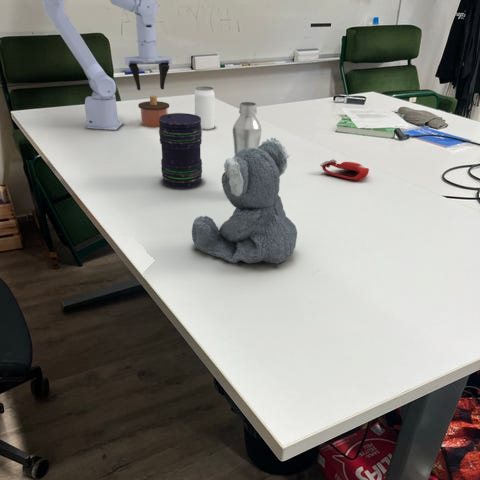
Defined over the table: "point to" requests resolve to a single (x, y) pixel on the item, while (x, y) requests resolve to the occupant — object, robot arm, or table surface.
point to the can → (205, 106)
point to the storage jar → (181, 150)
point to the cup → (152, 117)
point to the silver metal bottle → (246, 128)
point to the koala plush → (251, 210)
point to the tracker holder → (346, 166)
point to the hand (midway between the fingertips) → (150, 89)
